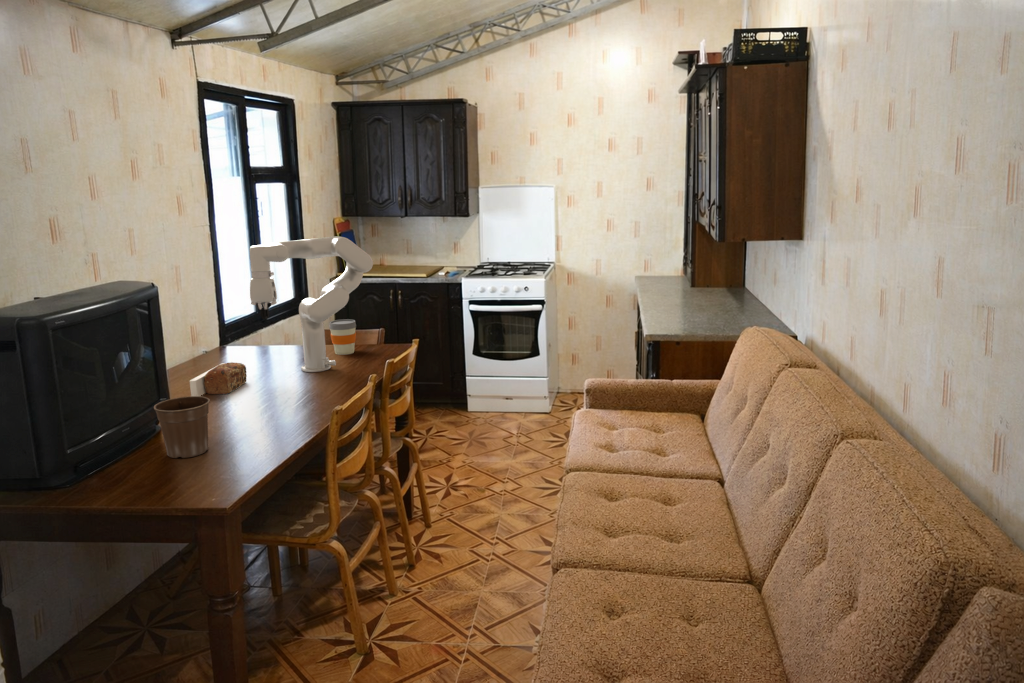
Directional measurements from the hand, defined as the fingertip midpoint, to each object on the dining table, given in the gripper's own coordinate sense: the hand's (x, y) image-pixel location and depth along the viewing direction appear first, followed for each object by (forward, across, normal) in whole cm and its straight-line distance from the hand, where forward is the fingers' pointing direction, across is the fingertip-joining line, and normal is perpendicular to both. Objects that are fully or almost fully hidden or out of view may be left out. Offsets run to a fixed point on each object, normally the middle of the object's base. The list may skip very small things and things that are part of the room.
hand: (265, 318), depth 342 cm
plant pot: (+25, -11, +94) cm, 98 cm away
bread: (+26, +10, +20) cm, 34 cm away
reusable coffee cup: (+25, -19, -44) cm, 54 cm away
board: (+25, +17, +20) cm, 36 cm away
